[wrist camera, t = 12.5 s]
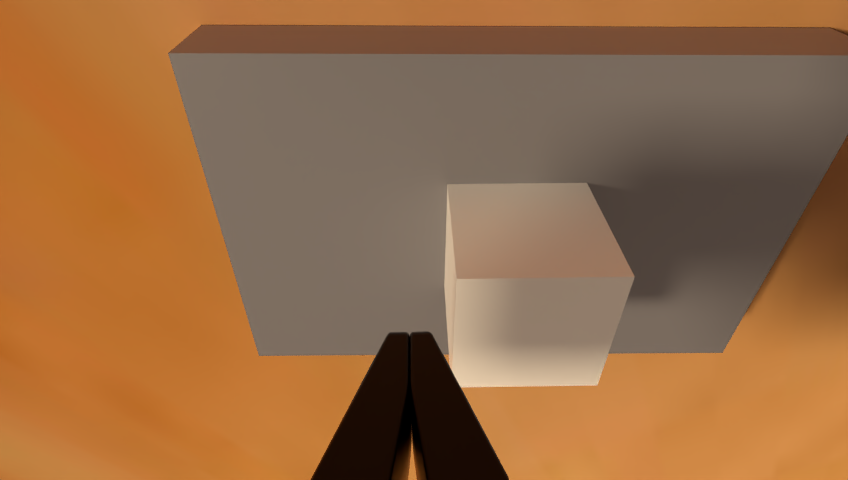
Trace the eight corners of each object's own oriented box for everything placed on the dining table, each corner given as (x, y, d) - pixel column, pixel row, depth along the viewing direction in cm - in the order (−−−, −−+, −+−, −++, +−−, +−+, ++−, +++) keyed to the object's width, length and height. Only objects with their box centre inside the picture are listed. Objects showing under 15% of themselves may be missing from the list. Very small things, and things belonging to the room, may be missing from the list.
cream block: (568, 146, 20) (634, 276, 14) (549, 243, 23) (597, 385, 17) (443, 147, 20) (456, 278, 14) (441, 244, 23) (451, 387, 17)
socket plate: (829, 27, 18) (893, 55, 15) (694, 307, 26) (722, 352, 24) (201, 25, 17) (168, 53, 15) (273, 309, 26) (259, 355, 24)
